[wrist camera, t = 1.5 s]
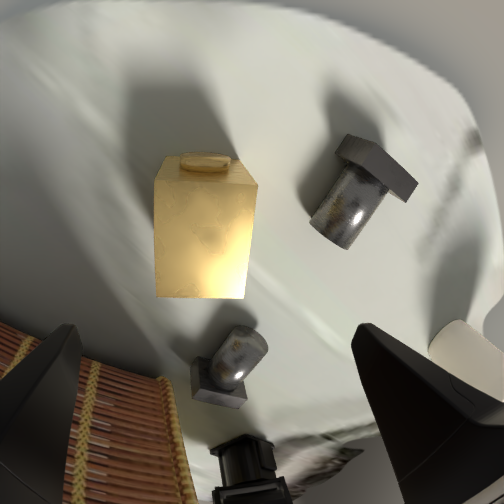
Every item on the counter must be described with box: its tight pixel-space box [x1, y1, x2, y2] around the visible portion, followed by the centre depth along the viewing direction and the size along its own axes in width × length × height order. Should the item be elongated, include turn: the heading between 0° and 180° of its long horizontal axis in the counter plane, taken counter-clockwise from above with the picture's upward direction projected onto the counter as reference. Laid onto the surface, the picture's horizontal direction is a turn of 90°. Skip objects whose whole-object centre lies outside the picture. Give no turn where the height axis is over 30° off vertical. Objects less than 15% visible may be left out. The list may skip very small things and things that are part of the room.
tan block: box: [154, 152, 258, 298], centre depth 17 cm, size 7×4×6 cm, turn 173°
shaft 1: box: [190, 326, 268, 409], centre depth 24 cm, size 6×4×4 cm
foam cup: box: [428, 319, 504, 402], centre depth 27 cm, size 10×9×13 cm
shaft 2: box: [309, 134, 418, 250], centre depth 19 cm, size 6×4×4 cm
